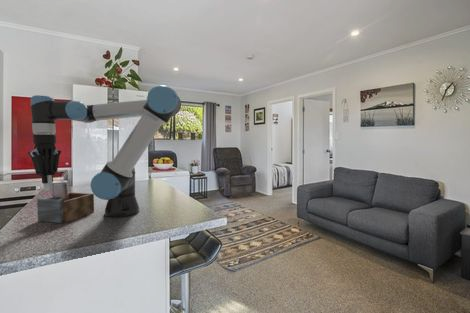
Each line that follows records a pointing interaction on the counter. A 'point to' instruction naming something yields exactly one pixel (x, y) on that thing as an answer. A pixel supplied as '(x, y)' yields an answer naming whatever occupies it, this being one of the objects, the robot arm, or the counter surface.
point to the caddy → (77, 206)
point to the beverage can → (60, 190)
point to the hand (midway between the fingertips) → (48, 190)
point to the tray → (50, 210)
